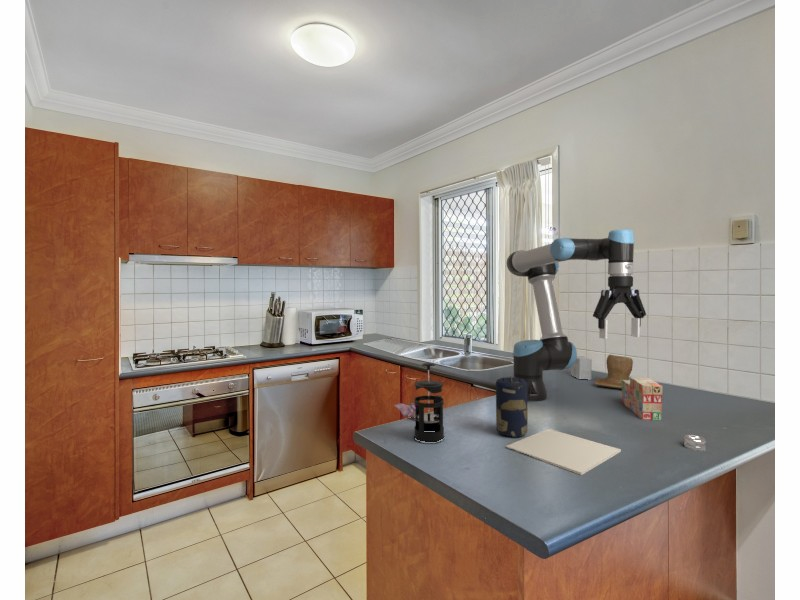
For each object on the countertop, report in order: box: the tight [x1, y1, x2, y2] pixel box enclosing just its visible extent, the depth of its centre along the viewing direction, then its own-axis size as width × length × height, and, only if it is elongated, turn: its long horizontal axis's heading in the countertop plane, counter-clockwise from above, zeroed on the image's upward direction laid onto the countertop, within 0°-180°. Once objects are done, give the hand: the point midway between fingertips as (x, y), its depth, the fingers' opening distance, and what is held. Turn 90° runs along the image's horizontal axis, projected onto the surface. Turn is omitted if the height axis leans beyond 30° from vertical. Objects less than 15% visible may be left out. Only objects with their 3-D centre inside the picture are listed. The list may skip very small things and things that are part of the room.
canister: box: [495, 376, 529, 438], centre depth 126 cm, size 10×10×18 cm
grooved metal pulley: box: [683, 434, 707, 452], centre depth 114 cm, size 5×3×5 cm
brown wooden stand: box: [594, 354, 634, 390], centre depth 183 cm, size 15×12×15 cm
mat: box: [505, 428, 622, 476], centre depth 113 cm, size 22×22×1 cm
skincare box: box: [570, 355, 593, 381], centre depth 204 cm, size 10×6×10 cm, turn 179°
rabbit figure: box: [393, 402, 415, 418], centre depth 144 cm, size 6×6×15 cm
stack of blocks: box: [621, 376, 664, 422], centre depth 147 cm, size 21×6×12 cm, turn 168°
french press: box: [413, 362, 445, 442], centre depth 123 cm, size 12×9×23 cm
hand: (619, 337), depth 138 cm, fingers open, 13 cm apart
